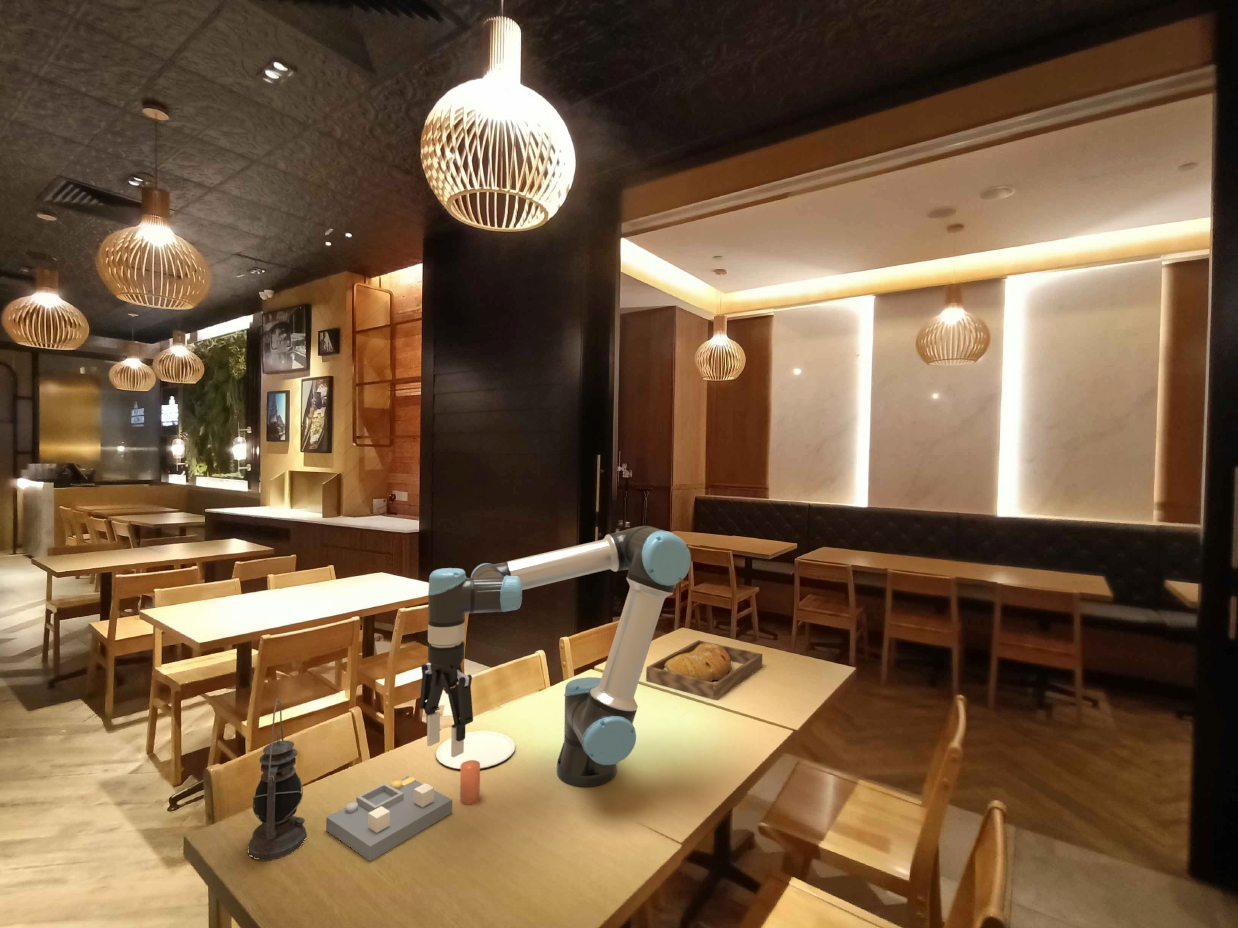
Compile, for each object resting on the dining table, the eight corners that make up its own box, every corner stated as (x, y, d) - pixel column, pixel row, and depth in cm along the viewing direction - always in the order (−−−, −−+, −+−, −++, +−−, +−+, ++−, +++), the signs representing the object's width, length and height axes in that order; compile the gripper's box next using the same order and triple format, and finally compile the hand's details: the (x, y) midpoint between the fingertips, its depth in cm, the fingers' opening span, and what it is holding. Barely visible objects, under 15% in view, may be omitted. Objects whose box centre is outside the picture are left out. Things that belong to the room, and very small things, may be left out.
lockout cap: (483, 797, 141) (484, 763, 140) (468, 806, 137) (469, 771, 137) (470, 791, 143) (471, 758, 143) (456, 800, 140) (456, 765, 139)
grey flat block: (452, 812, 135) (452, 792, 135) (370, 861, 118) (370, 838, 118) (407, 788, 144) (408, 770, 144) (326, 830, 127) (326, 809, 127)
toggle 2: (433, 800, 134) (434, 787, 134) (422, 807, 131) (422, 793, 131) (425, 796, 135) (425, 782, 135) (413, 802, 133) (414, 788, 133)
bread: (701, 693, 205) (702, 664, 205) (654, 678, 218) (655, 651, 218) (747, 668, 230) (747, 642, 229) (702, 656, 242) (703, 631, 242)
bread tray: (762, 666, 231) (762, 653, 231) (716, 700, 199) (716, 685, 199) (698, 652, 247) (698, 640, 247) (646, 681, 214) (646, 667, 214)
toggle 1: (389, 825, 125) (389, 811, 125) (376, 832, 122) (376, 818, 122) (381, 820, 126) (381, 805, 126) (368, 827, 124) (368, 812, 124)
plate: (444, 780, 148) (444, 775, 148) (429, 743, 167) (429, 739, 167) (525, 761, 158) (525, 756, 158) (502, 729, 176) (502, 724, 176)
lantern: (299, 858, 119) (300, 707, 118) (238, 868, 116) (239, 713, 115) (312, 821, 131) (313, 683, 130) (257, 829, 128) (258, 688, 127)
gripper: (492, 647, 126) (491, 756, 126) (431, 629, 137) (429, 729, 138) (464, 656, 120) (462, 771, 120) (402, 637, 131) (401, 741, 132)
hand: (445, 748), depth 129 cm, fingers open, 7 cm apart
